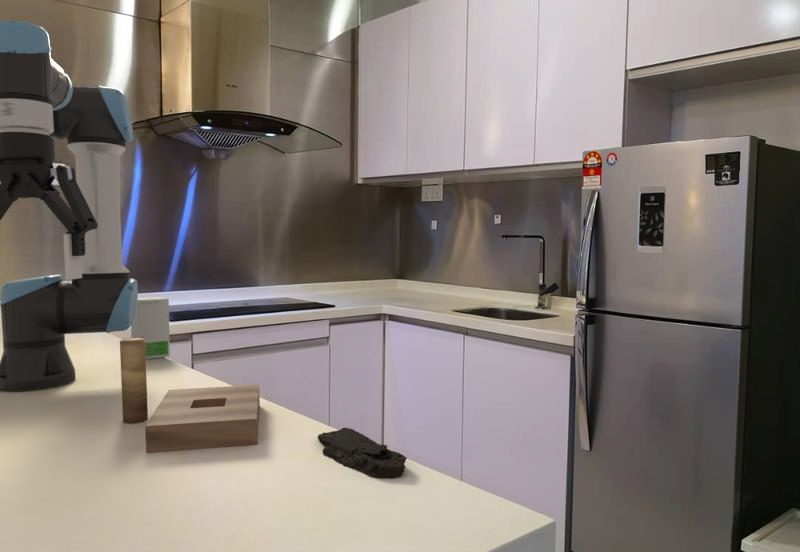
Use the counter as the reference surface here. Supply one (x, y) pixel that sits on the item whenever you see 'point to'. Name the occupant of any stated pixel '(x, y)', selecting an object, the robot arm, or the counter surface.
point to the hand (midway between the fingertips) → (31, 279)
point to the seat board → (204, 419)
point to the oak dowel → (133, 380)
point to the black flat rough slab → (362, 453)
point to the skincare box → (152, 326)
